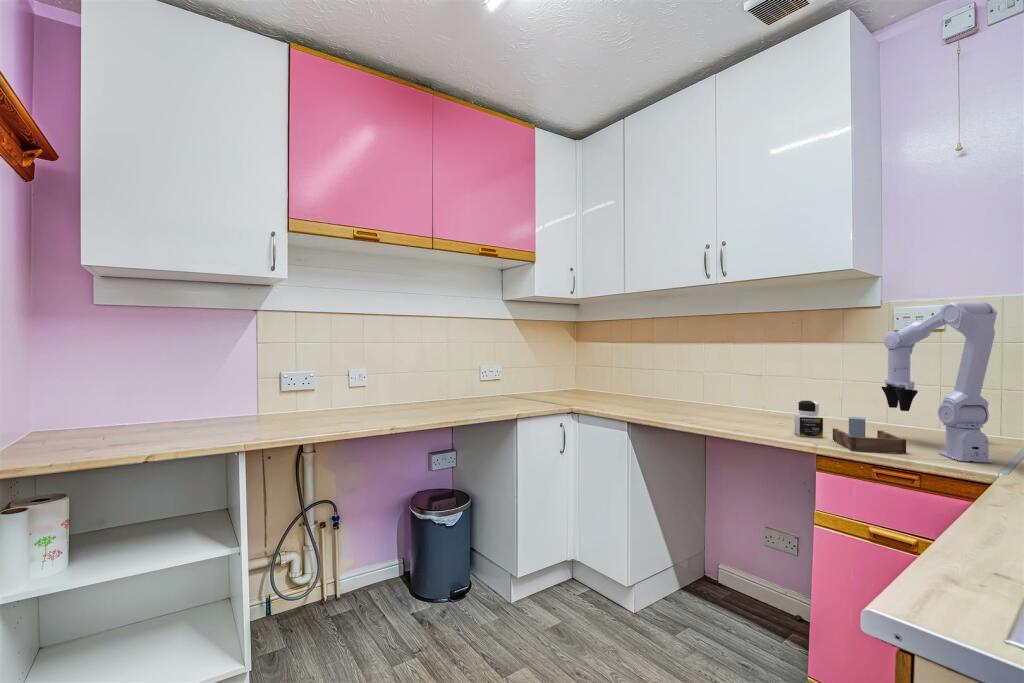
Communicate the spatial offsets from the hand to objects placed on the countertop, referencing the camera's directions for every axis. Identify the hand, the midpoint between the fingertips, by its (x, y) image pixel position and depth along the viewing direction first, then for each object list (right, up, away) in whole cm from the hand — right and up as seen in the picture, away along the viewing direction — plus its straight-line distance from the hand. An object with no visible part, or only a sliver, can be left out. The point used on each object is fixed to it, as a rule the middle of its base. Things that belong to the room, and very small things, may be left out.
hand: (898, 409), depth 161 cm
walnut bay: (-17, -11, -9) cm, 22 cm away
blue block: (-12, -10, +3) cm, 16 cm away
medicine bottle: (-25, -11, +9) cm, 28 cm away
